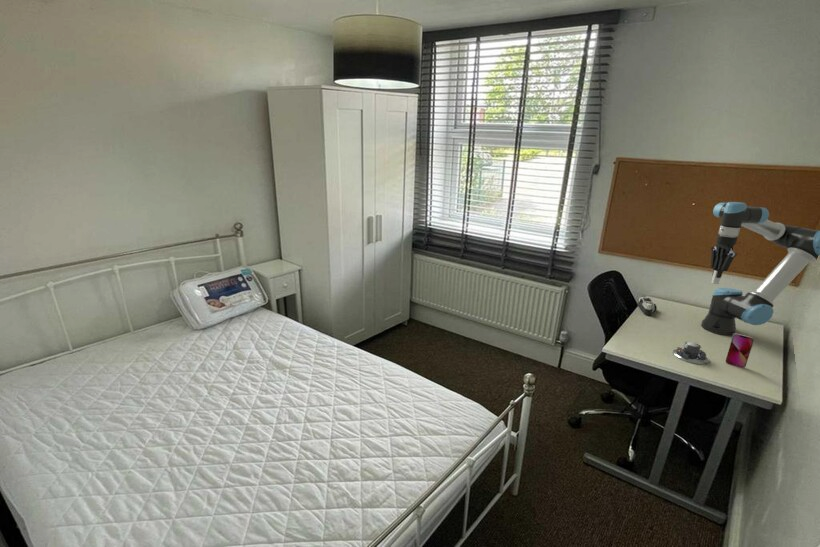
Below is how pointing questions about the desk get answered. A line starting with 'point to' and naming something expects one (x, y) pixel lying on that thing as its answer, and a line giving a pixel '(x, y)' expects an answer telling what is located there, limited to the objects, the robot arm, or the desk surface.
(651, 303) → the camera
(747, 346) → the smartphone
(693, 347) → the dark grey short cylinder
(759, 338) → the desk surface
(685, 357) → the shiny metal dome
